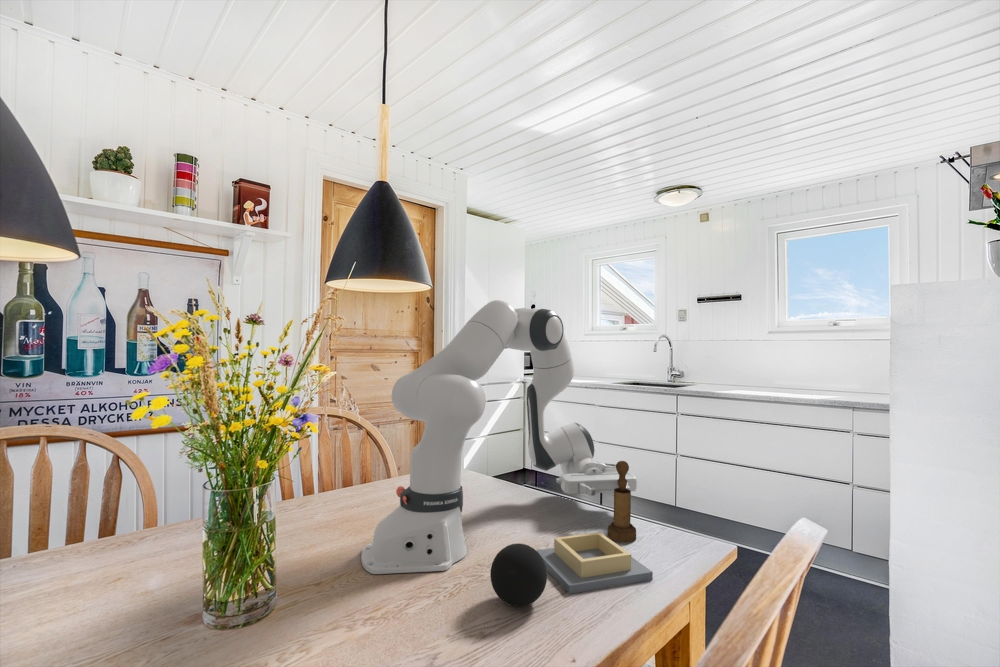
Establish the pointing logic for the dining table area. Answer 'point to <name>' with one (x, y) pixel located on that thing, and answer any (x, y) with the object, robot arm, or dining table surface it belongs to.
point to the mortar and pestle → (622, 509)
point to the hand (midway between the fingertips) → (610, 491)
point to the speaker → (518, 575)
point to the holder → (592, 563)
